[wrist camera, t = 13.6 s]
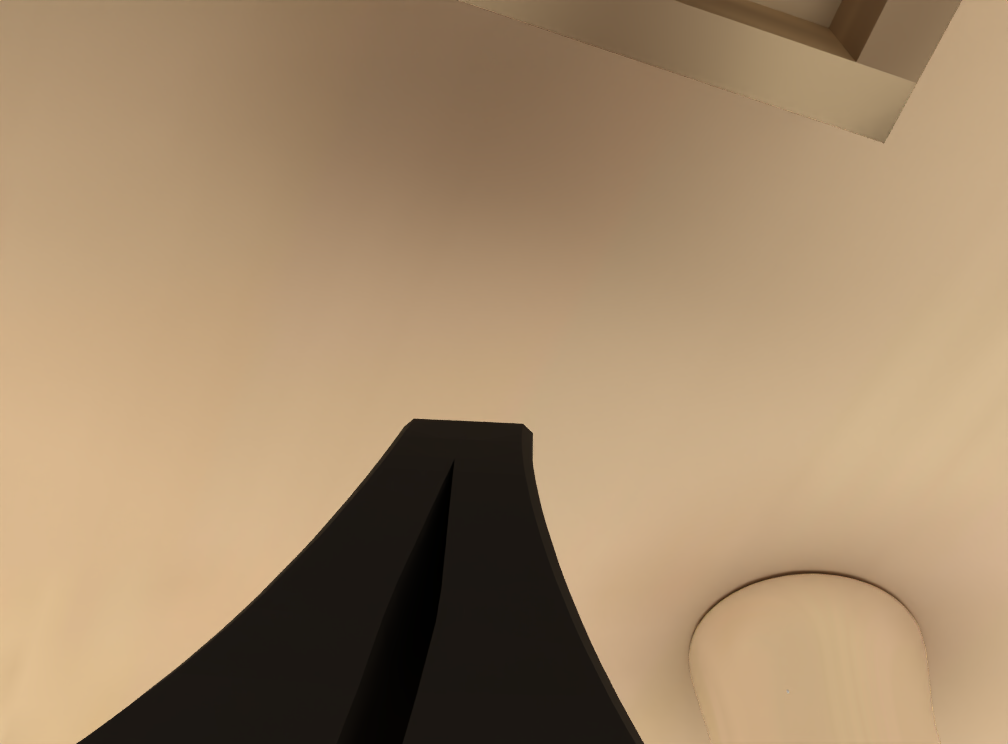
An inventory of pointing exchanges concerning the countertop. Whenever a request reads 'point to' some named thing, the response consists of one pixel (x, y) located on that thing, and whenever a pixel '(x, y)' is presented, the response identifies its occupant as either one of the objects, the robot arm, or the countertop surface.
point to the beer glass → (812, 666)
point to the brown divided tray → (767, 47)
